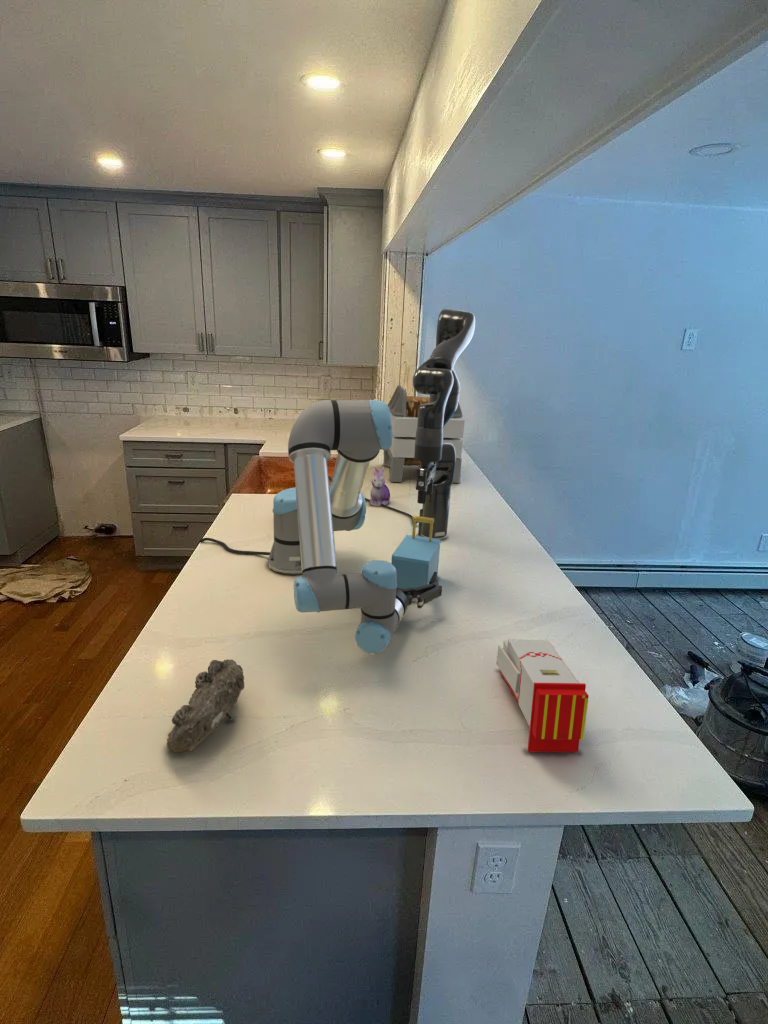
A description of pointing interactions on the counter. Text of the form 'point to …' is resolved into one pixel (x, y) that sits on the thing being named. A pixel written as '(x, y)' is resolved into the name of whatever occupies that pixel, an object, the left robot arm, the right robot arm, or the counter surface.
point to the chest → (415, 572)
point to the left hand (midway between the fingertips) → (411, 572)
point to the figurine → (379, 488)
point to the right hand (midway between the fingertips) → (424, 498)
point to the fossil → (206, 705)
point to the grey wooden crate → (405, 433)
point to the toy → (545, 694)
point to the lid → (417, 545)
